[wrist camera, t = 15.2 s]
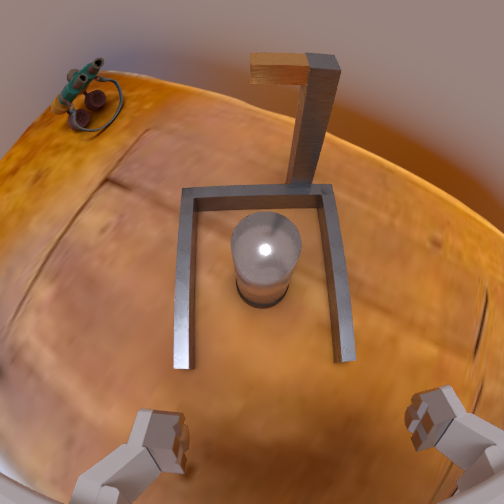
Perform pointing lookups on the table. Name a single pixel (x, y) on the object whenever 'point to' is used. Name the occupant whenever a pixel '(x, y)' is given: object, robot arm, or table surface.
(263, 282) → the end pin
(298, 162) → the grey metal bar frame
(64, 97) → the binoculars
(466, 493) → the robot arm
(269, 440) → the table surface
